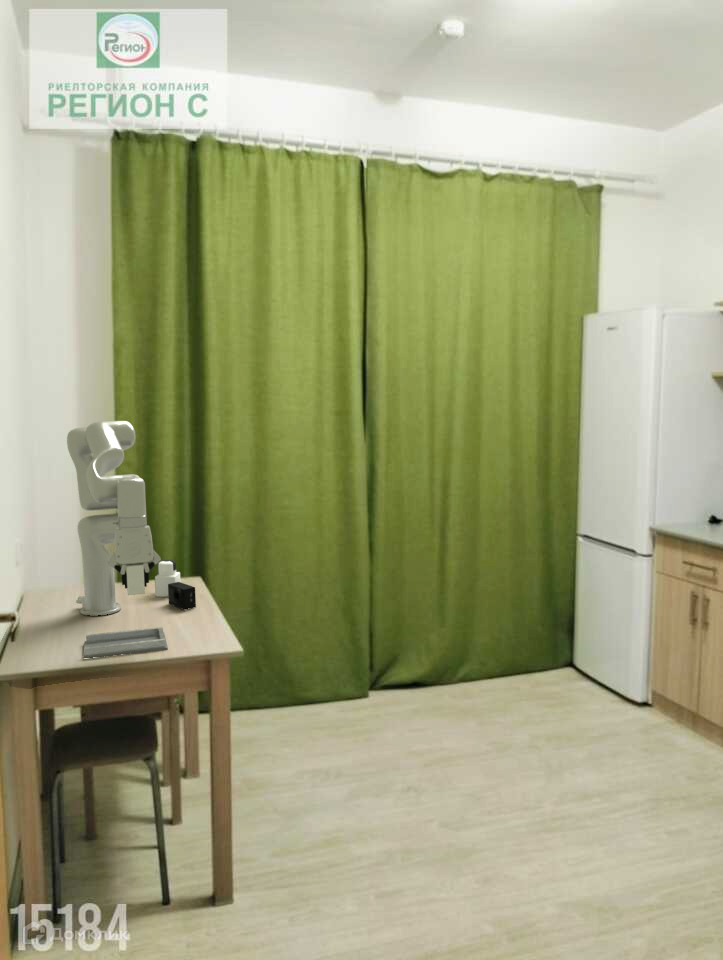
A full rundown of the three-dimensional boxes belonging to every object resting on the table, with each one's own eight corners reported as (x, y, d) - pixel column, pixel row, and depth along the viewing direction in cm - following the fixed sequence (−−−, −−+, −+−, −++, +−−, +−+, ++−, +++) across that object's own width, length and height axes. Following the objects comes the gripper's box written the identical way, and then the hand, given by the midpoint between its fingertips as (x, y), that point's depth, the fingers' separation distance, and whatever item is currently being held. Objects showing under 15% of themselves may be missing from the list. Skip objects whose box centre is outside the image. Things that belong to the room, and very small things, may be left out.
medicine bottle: (161, 591, 270) (159, 558, 269) (181, 591, 270) (179, 558, 268) (155, 596, 263) (153, 563, 262) (175, 596, 263) (174, 563, 261)
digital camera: (165, 604, 254) (164, 584, 253) (179, 601, 257) (178, 581, 256) (181, 610, 246) (180, 590, 245) (195, 607, 250) (195, 586, 249)
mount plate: (83, 659, 202) (83, 657, 202) (84, 643, 216) (84, 640, 216) (167, 649, 209) (167, 647, 209) (164, 634, 222) (164, 632, 222)
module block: (127, 595, 208) (126, 566, 207) (127, 589, 214) (125, 561, 213) (144, 593, 209) (143, 565, 208) (143, 587, 216) (142, 560, 215)
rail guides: (85, 656, 203) (84, 648, 203) (86, 641, 215) (86, 634, 215) (165, 646, 210) (165, 639, 210) (162, 633, 221) (162, 626, 221)
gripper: (100, 526, 203) (103, 592, 205) (164, 522, 208) (167, 587, 211) (100, 522, 210) (104, 586, 212) (163, 518, 215) (165, 580, 218)
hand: (135, 585), depth 211 cm, fingers closed on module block, 4 cm apart
